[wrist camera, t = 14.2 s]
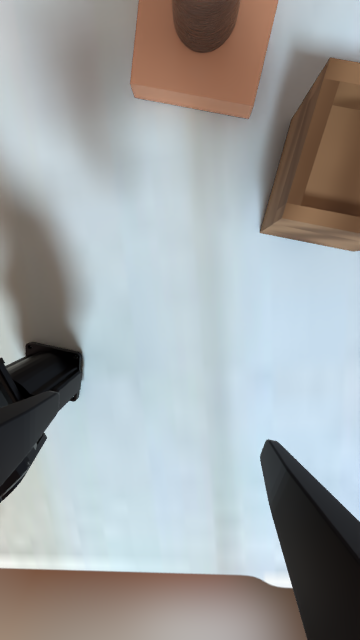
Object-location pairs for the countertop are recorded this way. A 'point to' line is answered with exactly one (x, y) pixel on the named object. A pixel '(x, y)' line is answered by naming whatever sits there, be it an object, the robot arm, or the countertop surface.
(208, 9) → the silver and gold cylinder
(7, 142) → the countertop surface
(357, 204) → the socket block
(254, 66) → the terracotta tile
